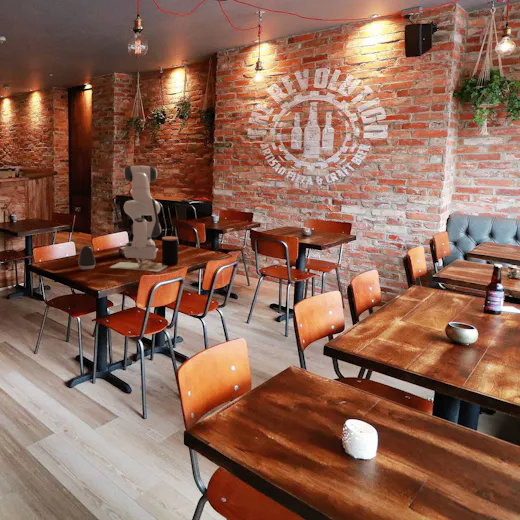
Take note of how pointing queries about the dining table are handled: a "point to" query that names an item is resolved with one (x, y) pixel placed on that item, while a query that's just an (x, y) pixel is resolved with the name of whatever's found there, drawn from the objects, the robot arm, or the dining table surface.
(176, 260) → the coffee jar
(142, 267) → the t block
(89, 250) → the dark egg shaped speaker
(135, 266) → the board
